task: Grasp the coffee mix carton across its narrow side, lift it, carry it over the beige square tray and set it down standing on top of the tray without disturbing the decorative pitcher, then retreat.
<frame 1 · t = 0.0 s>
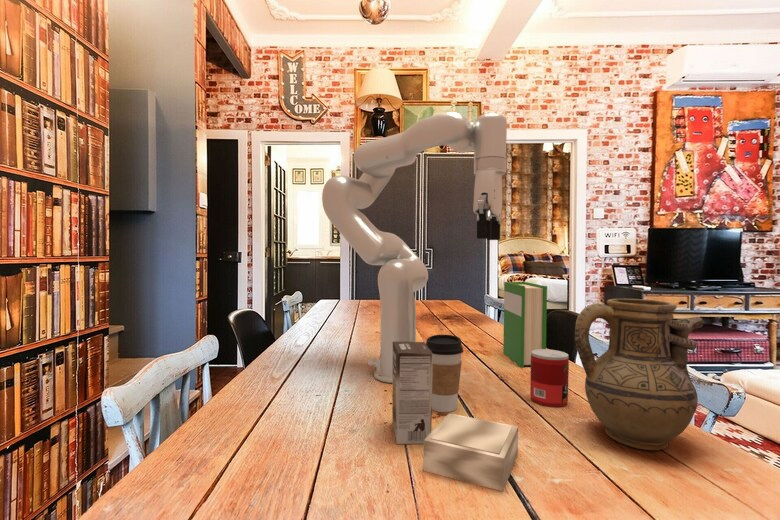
hand: (488, 239, 99), 37 cm above the table, tool pointing down, fingers open, 9 cm apart
canned food: (548, 402, 93), on the table
coffee cup: (442, 408, 89), on the table
hardback book: (523, 360, 129), on the table
decorative pitcher: (635, 440, 74), on the table
beige square tray: (472, 464, 66), on the table
coffee box: (410, 434, 76), on the table
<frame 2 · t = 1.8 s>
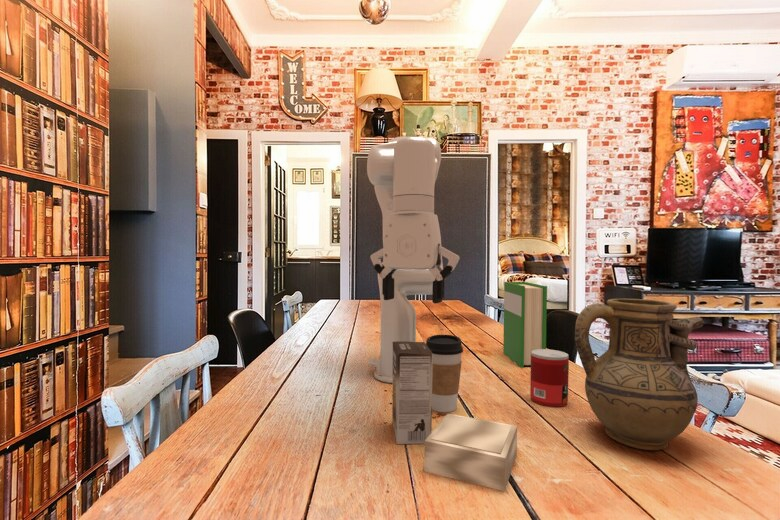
hand: (412, 301, 76), 24 cm above the table, tool pointing down, fingers open, 9 cm apart
nothing on the table moved.
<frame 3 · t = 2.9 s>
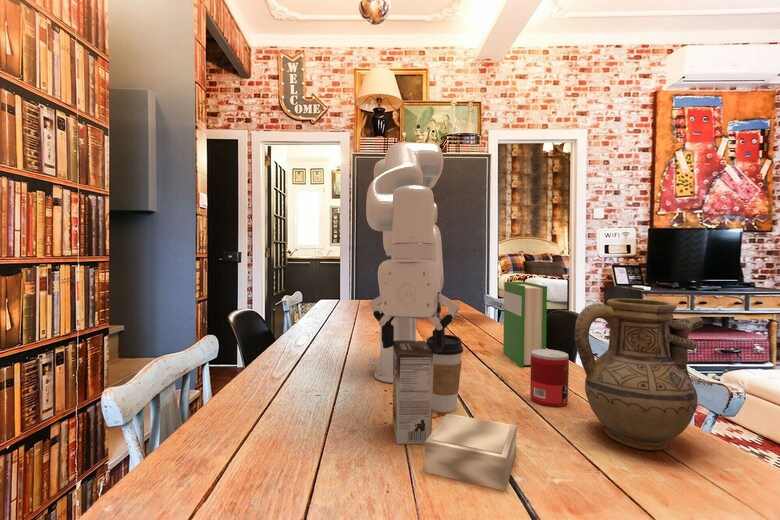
hand: (412, 349, 74), 16 cm above the table, tool pointing down, fingers open, 9 cm apart
coffee box: (410, 433, 76), on the table, touching gripper
everything else where it was.
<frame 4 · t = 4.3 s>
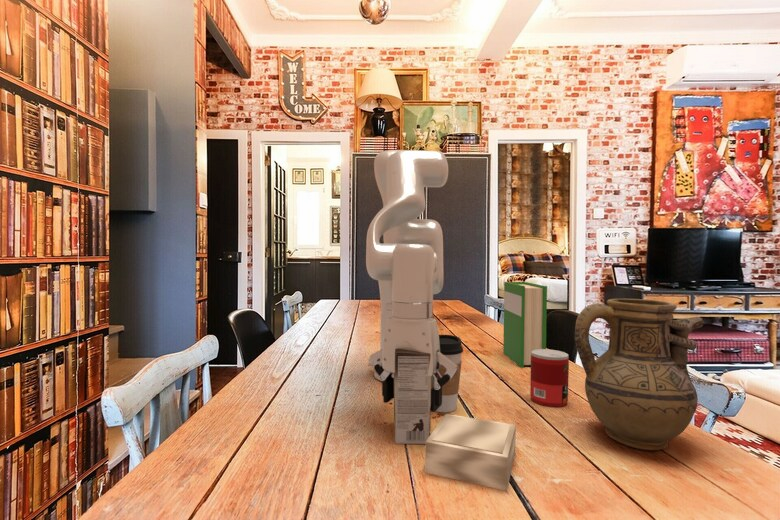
hand: (411, 404, 76), 5 cm above the table, tool pointing down, fingers closed on coffee box, 8 cm apart
coffee box: (411, 434, 76), on the table, touching gripper
everything else where it was.
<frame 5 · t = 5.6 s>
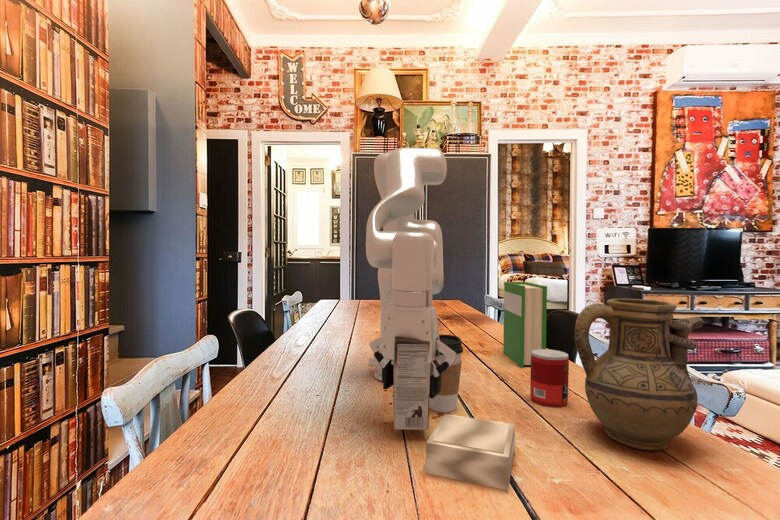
hand: (410, 391, 77), 7 cm above the table, tool pointing down, fingers closed on coffee box, 8 cm apart
coffee box: (410, 420, 77), point 2 cm above the table, touching gripper
everything else where it was.
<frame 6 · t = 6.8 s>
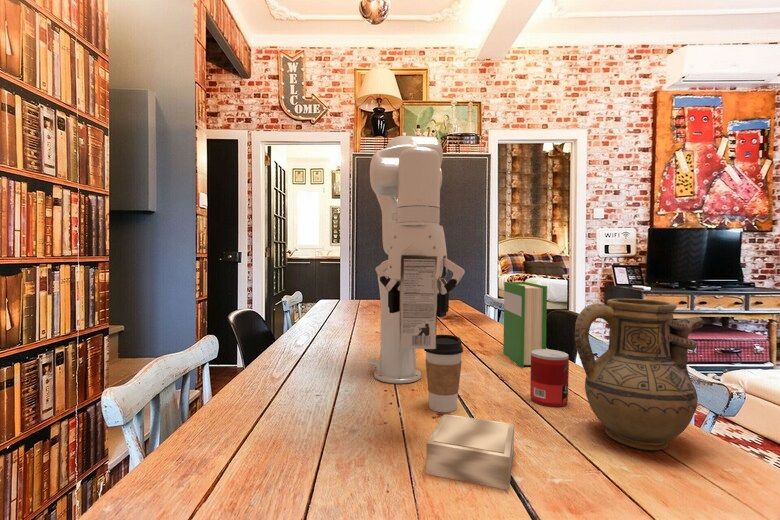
hand: (417, 314, 74), 22 cm above the table, tool pointing down, fingers closed on coffee box, 8 cm apart
coffee box: (416, 344, 75), point 17 cm above the table, touching gripper
everything else where it was.
when the fingers open (11 cm above the table, at t = 10.6 s): coffee box stays where it is, resting on beige square tray.
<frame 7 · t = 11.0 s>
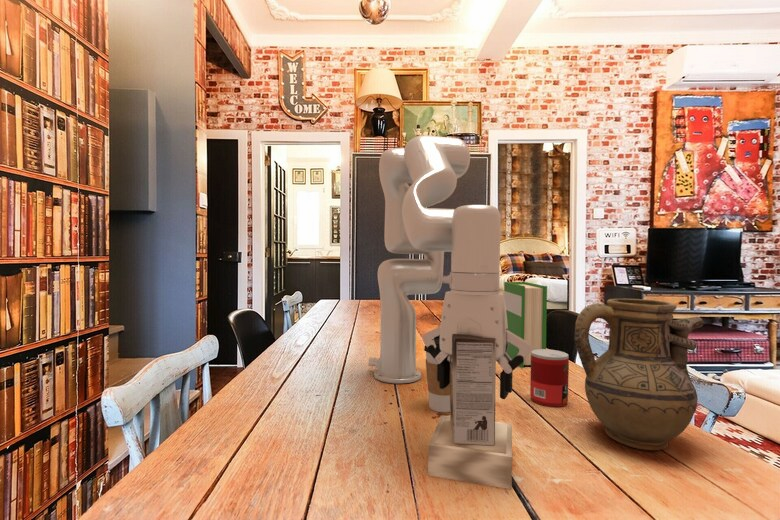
hand: (473, 391, 65), 11 cm above the table, tool pointing down, fingers open, 9 cm apart
beige square tray: (472, 465, 66), on the table, touching coffee box
coffee box: (470, 433, 66), point 5 cm above the table, touching gripper, beige square tray
everything else where it was.
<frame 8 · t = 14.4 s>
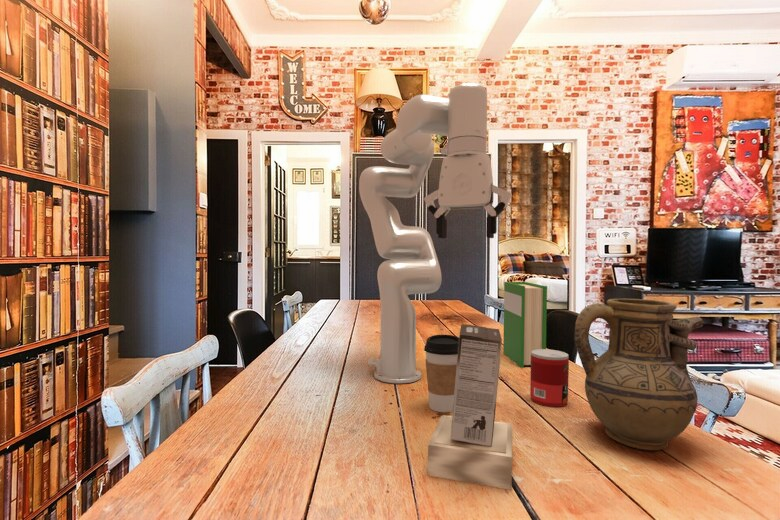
hand: (465, 238, 81), 36 cm above the table, tool pointing down, fingers open, 9 cm apart
beige square tray: (472, 464, 65), on the table
coffee box: (471, 432, 65), point 5 cm above the table
everything else where it was.
at the end: coffee box inside the target area on the beige square tray (0.4 cm from its centre), point 5.2 cm above the beige square tray's base; coffee box tilted 5°; decorative pitcher moved 0.2 cm from its start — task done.
